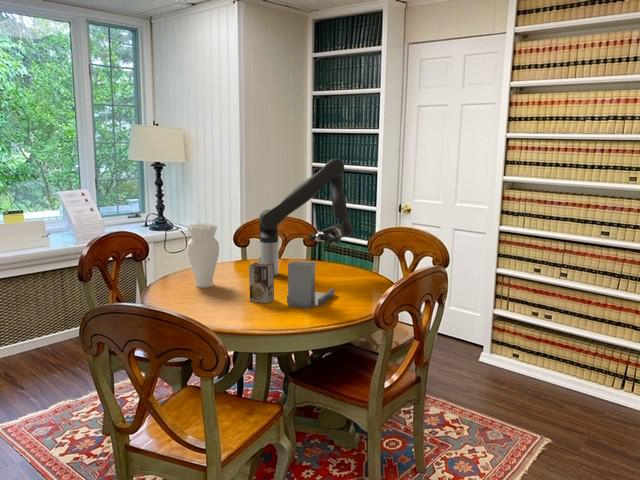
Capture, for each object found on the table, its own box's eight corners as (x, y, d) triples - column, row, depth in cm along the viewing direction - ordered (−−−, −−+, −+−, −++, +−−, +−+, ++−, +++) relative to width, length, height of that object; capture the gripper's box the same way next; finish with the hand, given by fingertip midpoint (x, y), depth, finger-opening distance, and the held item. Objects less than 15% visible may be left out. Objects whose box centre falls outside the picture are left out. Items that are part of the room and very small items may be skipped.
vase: (219, 288, 249) (217, 227, 244) (187, 290, 247) (184, 227, 242) (220, 280, 263) (218, 222, 258) (189, 281, 261) (187, 222, 256)
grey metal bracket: (282, 305, 225) (282, 263, 221) (302, 291, 246) (302, 252, 243) (316, 310, 220) (317, 266, 216) (334, 294, 241) (334, 254, 238)
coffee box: (274, 299, 234) (274, 263, 231) (268, 303, 228) (268, 266, 225) (255, 297, 237) (255, 261, 234) (249, 301, 231) (248, 264, 228)
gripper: (318, 225, 258) (305, 230, 243) (346, 228, 254) (335, 233, 239) (317, 241, 260) (304, 246, 245) (345, 244, 255) (334, 250, 240)
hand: (319, 240), depth 242 cm, fingers open, 8 cm apart
